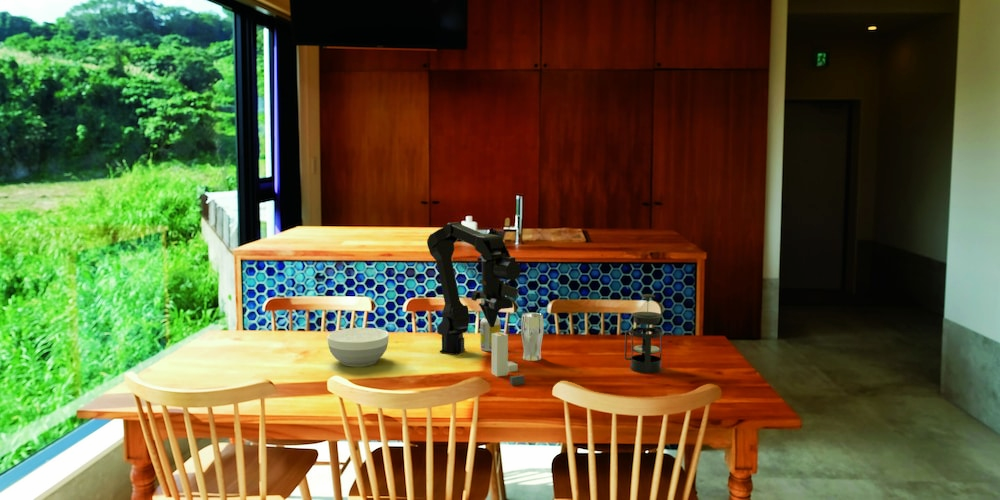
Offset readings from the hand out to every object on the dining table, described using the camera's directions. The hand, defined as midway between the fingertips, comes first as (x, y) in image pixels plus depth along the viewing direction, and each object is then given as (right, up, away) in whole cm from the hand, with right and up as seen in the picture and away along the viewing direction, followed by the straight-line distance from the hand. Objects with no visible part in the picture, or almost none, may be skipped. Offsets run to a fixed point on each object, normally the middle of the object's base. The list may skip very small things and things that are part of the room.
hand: (491, 326), depth 256 cm
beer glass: (+12, -12, +5) cm, 18 cm away
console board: (+3, -14, -14) cm, 20 cm away
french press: (+46, -13, -2) cm, 48 cm away
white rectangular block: (+2, -13, -13) cm, 18 cm away
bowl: (-42, -12, +4) cm, 43 cm away
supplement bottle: (-1, -9, +19) cm, 22 cm away
